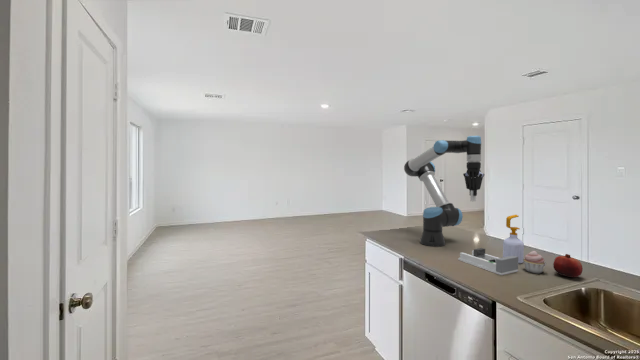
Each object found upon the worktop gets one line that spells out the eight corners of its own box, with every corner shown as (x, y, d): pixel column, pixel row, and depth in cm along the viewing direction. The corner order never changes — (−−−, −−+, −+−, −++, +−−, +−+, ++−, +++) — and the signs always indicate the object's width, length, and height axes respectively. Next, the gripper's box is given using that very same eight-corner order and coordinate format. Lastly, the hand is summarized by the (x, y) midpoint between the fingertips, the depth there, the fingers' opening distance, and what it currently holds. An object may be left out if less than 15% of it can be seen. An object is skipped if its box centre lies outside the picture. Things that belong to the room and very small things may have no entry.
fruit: (547, 272, 138) (547, 251, 137) (568, 272, 137) (569, 251, 137) (565, 280, 127) (566, 258, 126) (588, 280, 127) (589, 258, 126)
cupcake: (551, 274, 135) (552, 253, 134) (534, 275, 133) (534, 254, 133) (533, 267, 144) (534, 247, 143) (517, 268, 142) (517, 248, 142)
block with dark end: (469, 261, 150) (469, 249, 149) (481, 259, 153) (481, 247, 153) (492, 269, 138) (493, 257, 137) (505, 266, 141) (505, 254, 141)
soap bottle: (526, 264, 148) (528, 216, 147) (507, 263, 150) (508, 216, 149) (518, 258, 157) (519, 213, 156) (500, 257, 159) (500, 213, 158)
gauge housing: (458, 259, 156) (458, 247, 156) (474, 257, 161) (474, 244, 160) (501, 275, 134) (501, 260, 134) (518, 271, 139) (518, 256, 138)
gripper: (459, 162, 177) (459, 200, 179) (478, 161, 165) (478, 202, 167) (468, 162, 180) (468, 199, 182) (488, 161, 168) (487, 202, 170)
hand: (473, 201), depth 174 cm, fingers closed
